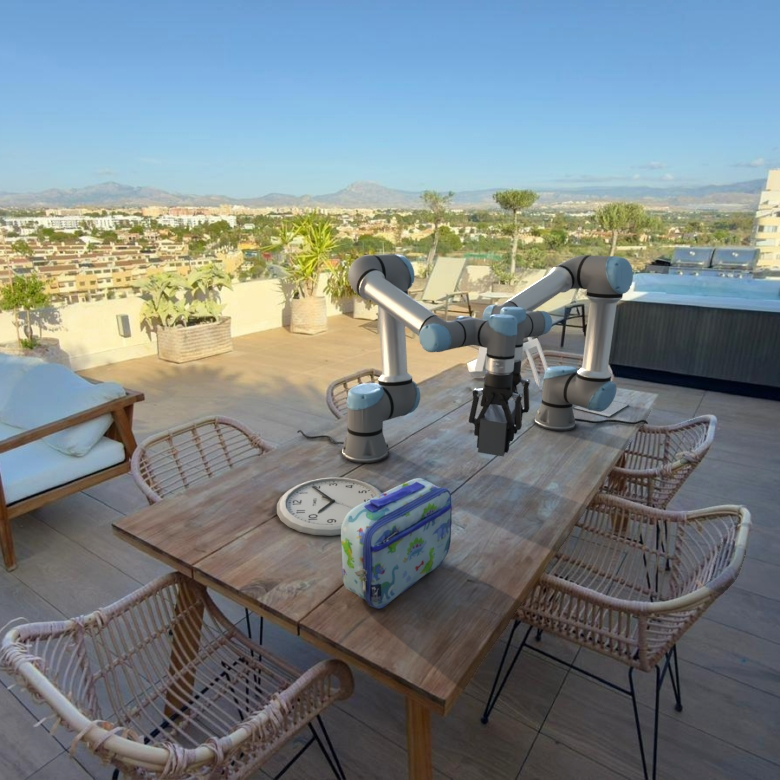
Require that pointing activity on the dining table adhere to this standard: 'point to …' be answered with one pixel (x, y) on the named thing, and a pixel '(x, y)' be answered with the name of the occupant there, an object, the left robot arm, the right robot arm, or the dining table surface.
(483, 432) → the box
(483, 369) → the white plastic object
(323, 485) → the wall clock
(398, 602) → the dining table surface
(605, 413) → the invitation card
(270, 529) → the dining table surface
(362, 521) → the lunch box
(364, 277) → the left robot arm
